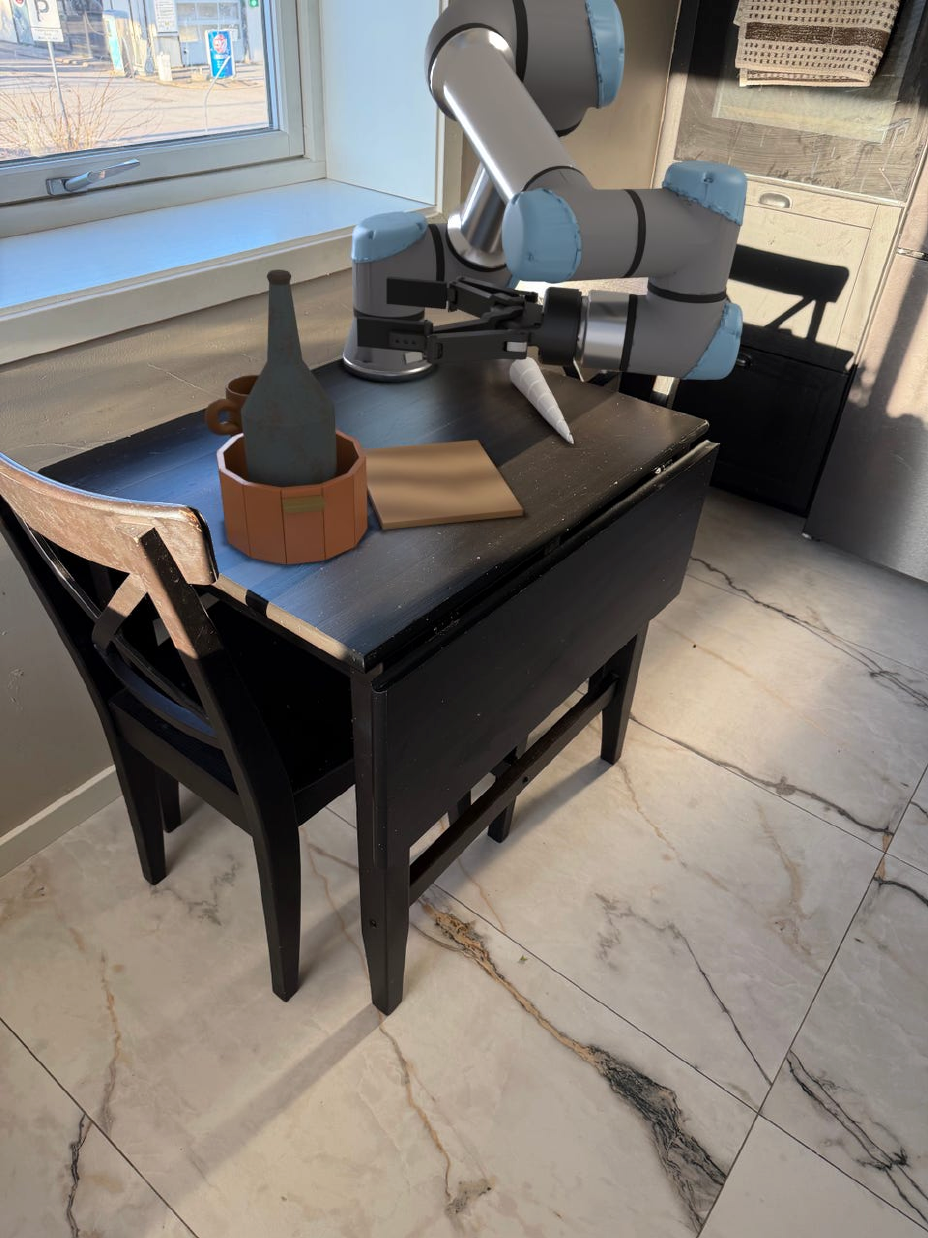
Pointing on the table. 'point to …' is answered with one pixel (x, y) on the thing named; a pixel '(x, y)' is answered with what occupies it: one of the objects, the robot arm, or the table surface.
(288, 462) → the bottle
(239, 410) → the mug
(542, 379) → the unicorn horn
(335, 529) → the ice bucket
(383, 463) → the wooden board
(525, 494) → the table surface
